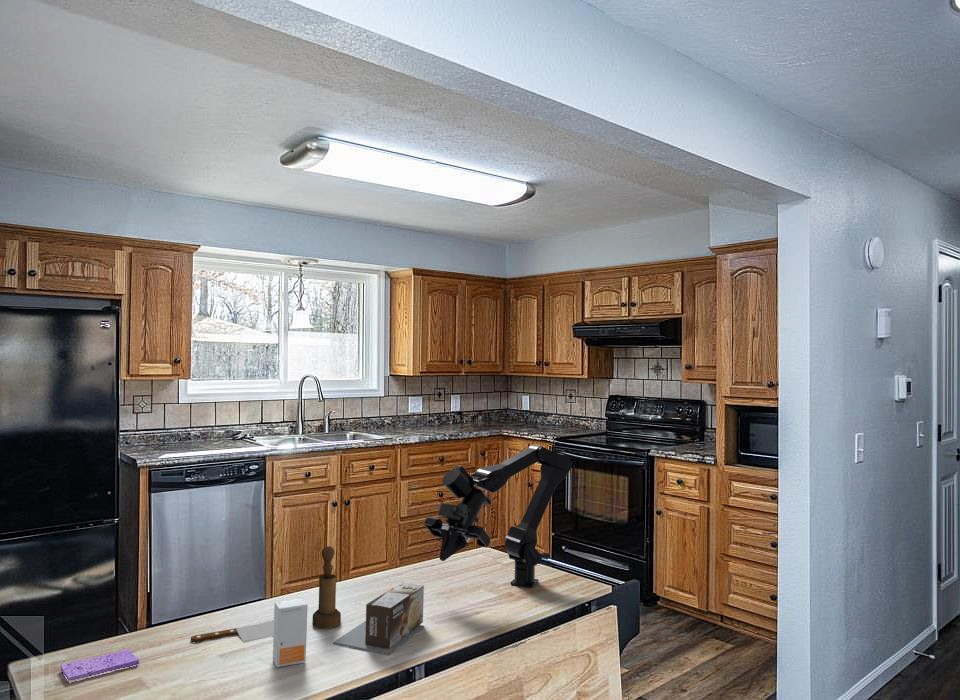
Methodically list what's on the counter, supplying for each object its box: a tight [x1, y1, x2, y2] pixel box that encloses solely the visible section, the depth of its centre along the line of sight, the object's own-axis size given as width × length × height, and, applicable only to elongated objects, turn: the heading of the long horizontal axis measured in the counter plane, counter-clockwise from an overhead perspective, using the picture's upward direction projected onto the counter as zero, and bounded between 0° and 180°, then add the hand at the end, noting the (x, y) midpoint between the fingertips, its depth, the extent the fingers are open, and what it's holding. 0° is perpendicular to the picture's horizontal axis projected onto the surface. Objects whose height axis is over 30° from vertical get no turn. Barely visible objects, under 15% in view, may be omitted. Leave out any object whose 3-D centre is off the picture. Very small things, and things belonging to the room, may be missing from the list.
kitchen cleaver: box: [190, 619, 274, 644], centre depth 153 cm, size 24×1×10 cm
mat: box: [332, 620, 425, 656], centre depth 153 cm, size 16×14×1 cm
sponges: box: [60, 648, 140, 681], centre depth 135 cm, size 7×13×2 cm, turn 132°
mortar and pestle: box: [311, 545, 342, 630], centre depth 160 cm, size 7×6×18 cm
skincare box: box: [272, 598, 309, 668], centre depth 139 cm, size 6×4×12 cm
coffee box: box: [365, 581, 425, 648], centre depth 154 cm, size 9×6×16 cm
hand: (441, 560), depth 171 cm, fingers closed
